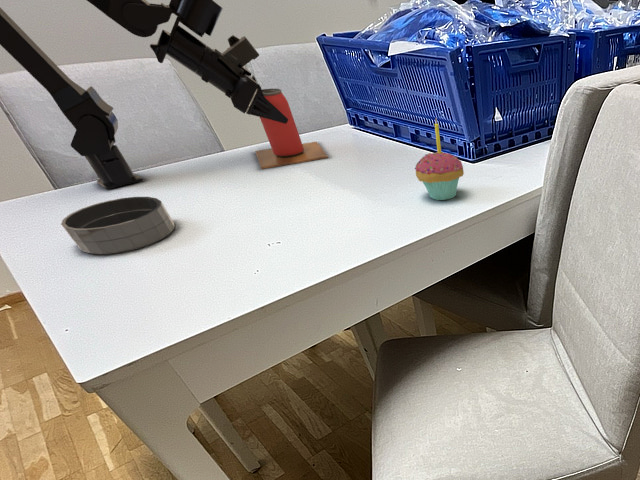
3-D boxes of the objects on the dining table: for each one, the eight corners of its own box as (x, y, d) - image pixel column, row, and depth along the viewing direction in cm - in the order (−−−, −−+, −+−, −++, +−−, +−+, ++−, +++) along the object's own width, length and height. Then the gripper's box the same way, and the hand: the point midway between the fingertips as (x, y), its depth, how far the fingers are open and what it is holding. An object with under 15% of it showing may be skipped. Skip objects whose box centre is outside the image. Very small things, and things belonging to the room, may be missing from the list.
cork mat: (261, 169, 96) (260, 167, 95) (255, 152, 105) (254, 151, 104) (328, 158, 100) (327, 156, 100) (317, 143, 109) (316, 141, 109)
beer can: (311, 150, 104) (290, 88, 95) (291, 158, 99) (268, 94, 91) (287, 148, 105) (265, 87, 97) (268, 156, 101) (242, 93, 92)
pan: (70, 240, 72) (51, 215, 69) (158, 214, 79) (144, 190, 76) (95, 263, 65) (75, 237, 63) (188, 233, 72) (174, 208, 70)
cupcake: (428, 186, 86) (416, 114, 77) (471, 188, 85) (463, 115, 76) (414, 203, 80) (398, 127, 71) (460, 205, 79) (449, 128, 70)
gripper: (220, 22, 78) (308, 90, 90) (216, 16, 90) (295, 76, 102) (194, 81, 81) (283, 139, 93) (194, 68, 93) (273, 121, 104)
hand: (284, 117), depth 98 cm, fingers open, 9 cm apart
